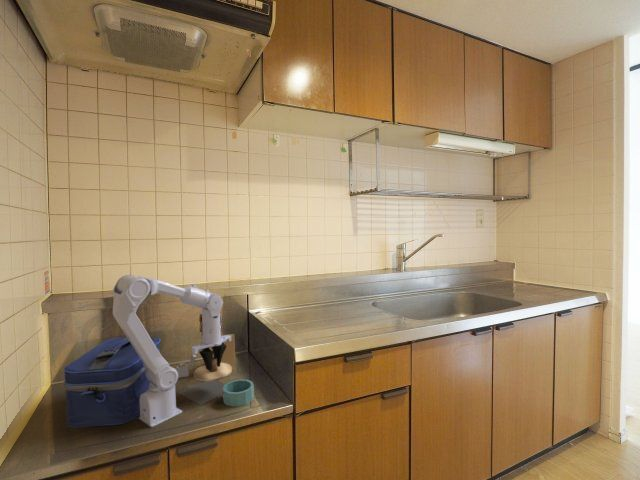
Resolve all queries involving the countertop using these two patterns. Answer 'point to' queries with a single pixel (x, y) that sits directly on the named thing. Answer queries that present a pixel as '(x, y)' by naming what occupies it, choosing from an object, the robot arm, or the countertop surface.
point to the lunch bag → (105, 384)
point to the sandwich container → (229, 352)
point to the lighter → (185, 367)
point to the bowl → (238, 392)
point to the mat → (203, 391)
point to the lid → (213, 371)
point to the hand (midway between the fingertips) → (213, 367)
